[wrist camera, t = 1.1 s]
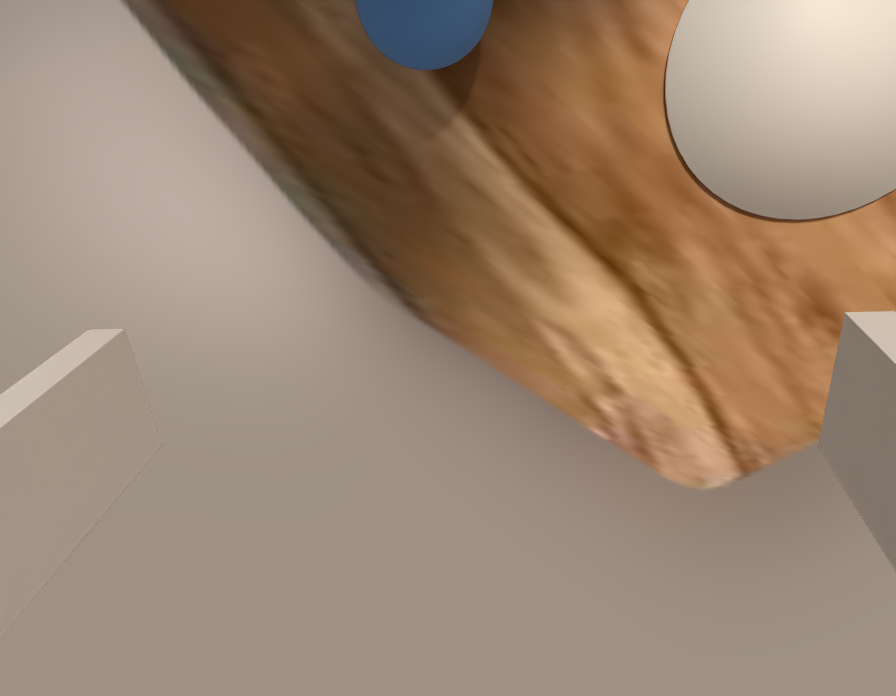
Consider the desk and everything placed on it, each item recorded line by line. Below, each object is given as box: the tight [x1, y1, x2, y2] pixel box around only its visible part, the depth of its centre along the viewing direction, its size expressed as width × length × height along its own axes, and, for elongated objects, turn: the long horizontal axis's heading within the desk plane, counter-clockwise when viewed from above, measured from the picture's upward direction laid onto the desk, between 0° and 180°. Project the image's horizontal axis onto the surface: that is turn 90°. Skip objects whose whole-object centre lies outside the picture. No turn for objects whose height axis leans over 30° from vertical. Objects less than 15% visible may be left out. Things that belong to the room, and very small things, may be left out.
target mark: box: [665, 0, 896, 220], centre depth 29 cm, size 13×13×1 cm
